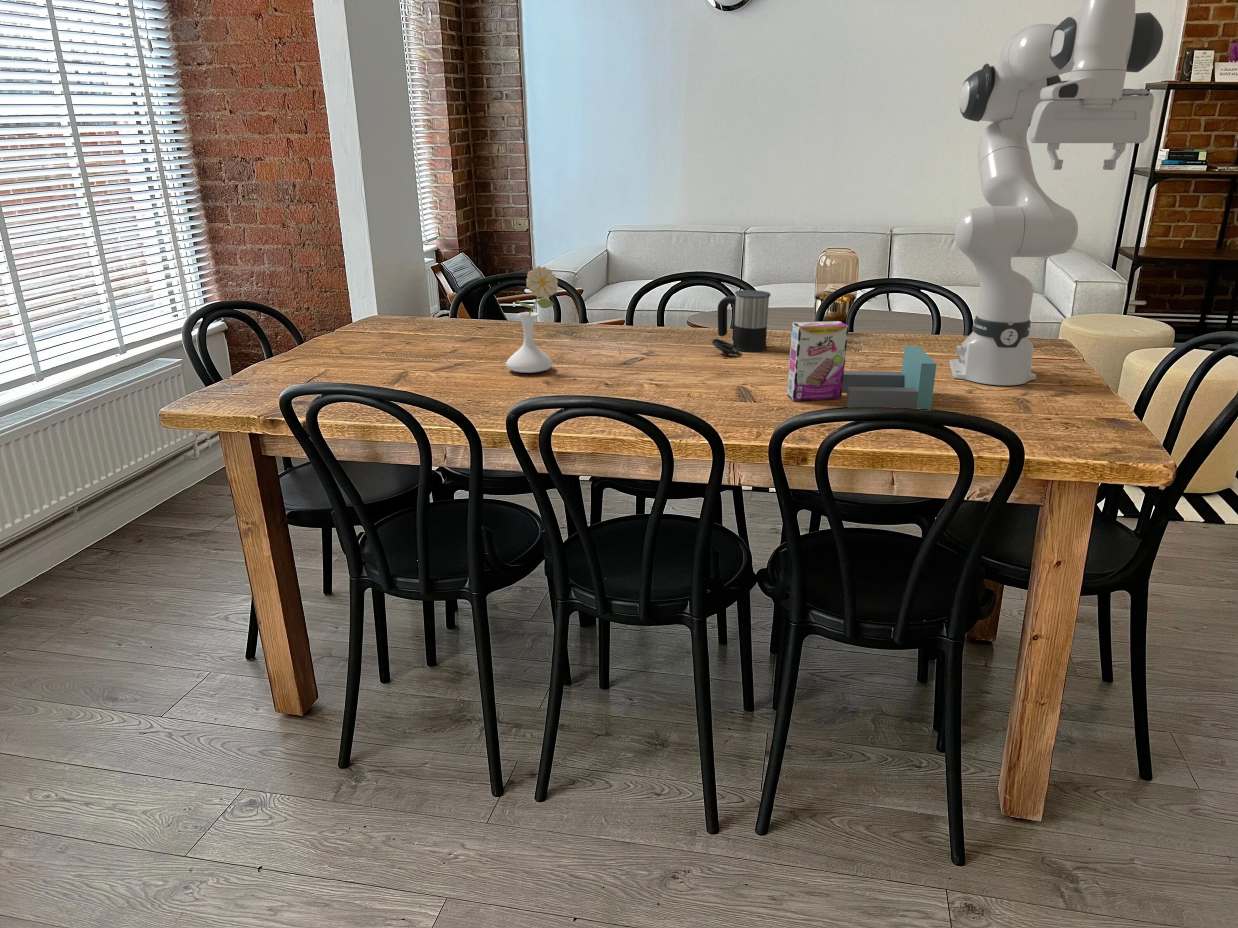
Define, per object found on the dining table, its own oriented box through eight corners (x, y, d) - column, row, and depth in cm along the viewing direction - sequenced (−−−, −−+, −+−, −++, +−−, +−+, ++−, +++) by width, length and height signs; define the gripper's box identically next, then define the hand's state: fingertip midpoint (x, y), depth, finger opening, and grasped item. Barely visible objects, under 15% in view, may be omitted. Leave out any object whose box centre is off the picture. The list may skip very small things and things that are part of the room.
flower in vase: (507, 377, 216) (502, 270, 207) (505, 365, 227) (500, 263, 218) (562, 375, 218) (559, 269, 209) (557, 363, 229) (555, 262, 220)
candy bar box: (793, 402, 197) (798, 326, 191) (785, 395, 201) (790, 321, 196) (843, 399, 199) (849, 324, 193) (834, 393, 203) (840, 320, 198)
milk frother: (768, 345, 247) (771, 290, 242) (766, 359, 233) (769, 301, 228) (715, 343, 250) (717, 288, 244) (710, 357, 235) (712, 299, 230)
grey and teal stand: (836, 388, 207) (840, 344, 204) (913, 389, 206) (918, 345, 202) (848, 408, 192) (852, 362, 189) (930, 410, 191) (936, 363, 187)
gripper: (1147, 89, 167) (1132, 169, 171) (1031, 89, 168) (1020, 169, 173) (1164, 88, 161) (1148, 170, 166) (1044, 88, 162) (1032, 170, 167)
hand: (1082, 169), depth 169 cm, fingers open, 8 cm apart
